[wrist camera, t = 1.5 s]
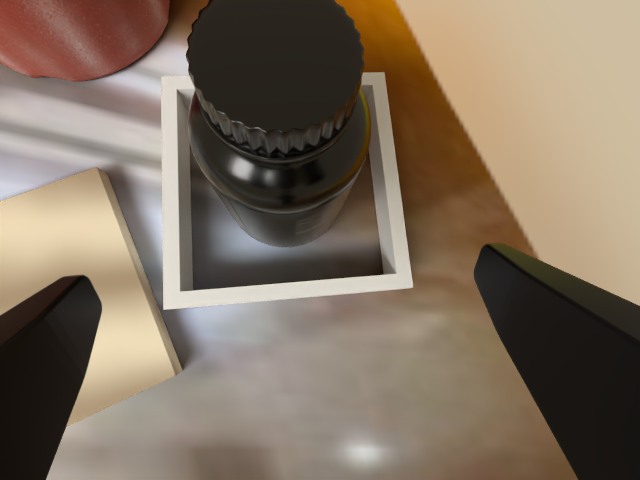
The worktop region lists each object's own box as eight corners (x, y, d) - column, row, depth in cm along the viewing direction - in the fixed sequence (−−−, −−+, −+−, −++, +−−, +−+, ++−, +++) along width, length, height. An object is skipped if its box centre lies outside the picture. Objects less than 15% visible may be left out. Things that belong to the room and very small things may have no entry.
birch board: (182, 370, 18) (175, 375, 17) (-15, 463, 17) (-38, 475, 16) (107, 175, 20) (96, 167, 19) (-80, 242, 18) (-105, 238, 17)
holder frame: (398, 289, 20) (413, 287, 18) (178, 308, 19) (163, 309, 17) (374, 96, 22) (384, 72, 20) (175, 101, 21) (161, 76, 19)
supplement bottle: (337, 140, 22) (396, -50, 10) (344, 247, 21) (420, 172, 9) (226, 141, 21) (149, -64, 9) (227, 251, 20) (139, 177, 8)
